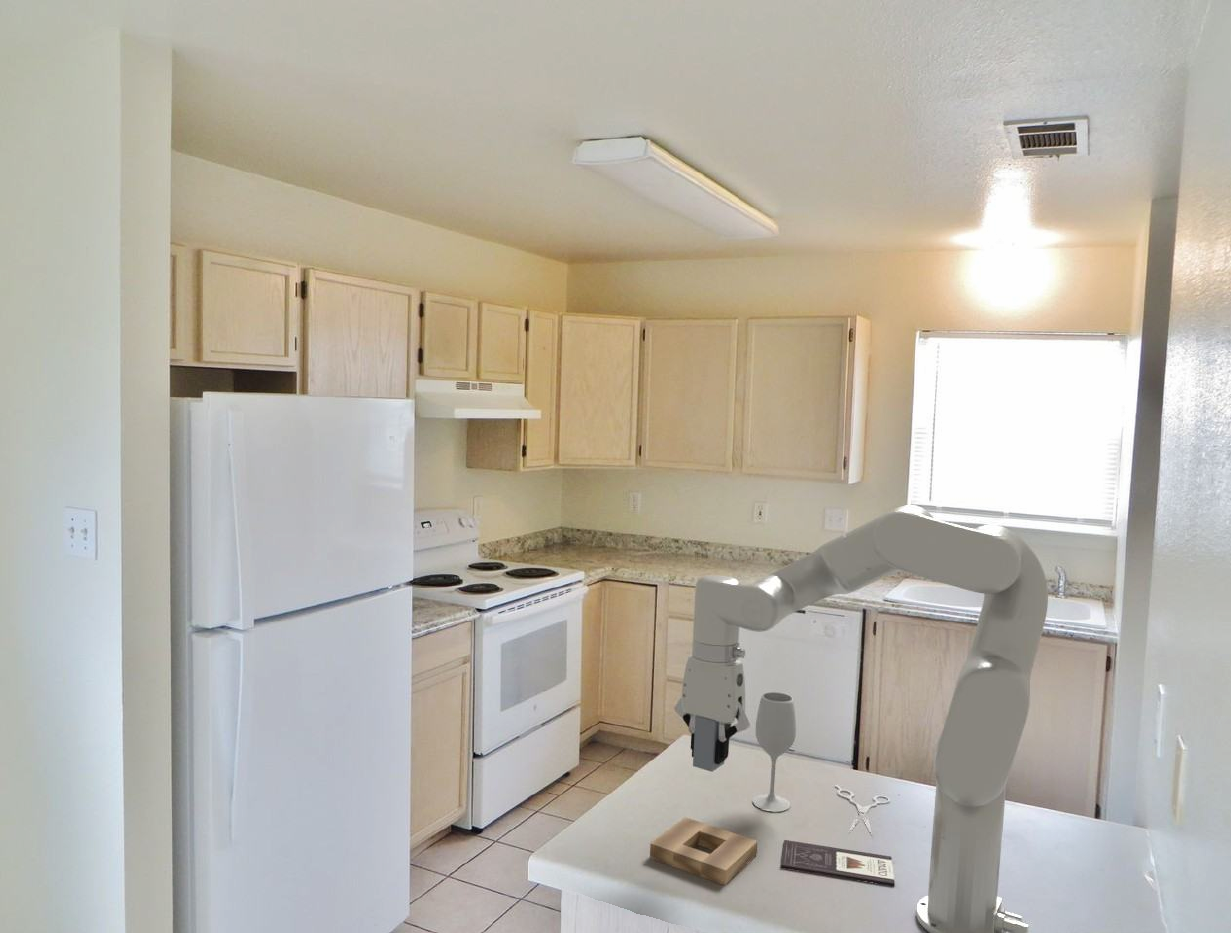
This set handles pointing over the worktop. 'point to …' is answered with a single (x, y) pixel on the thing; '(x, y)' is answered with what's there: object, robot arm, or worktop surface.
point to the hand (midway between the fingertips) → (709, 757)
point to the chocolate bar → (837, 862)
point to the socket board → (715, 866)
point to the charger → (705, 744)
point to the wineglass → (775, 739)
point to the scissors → (860, 808)
